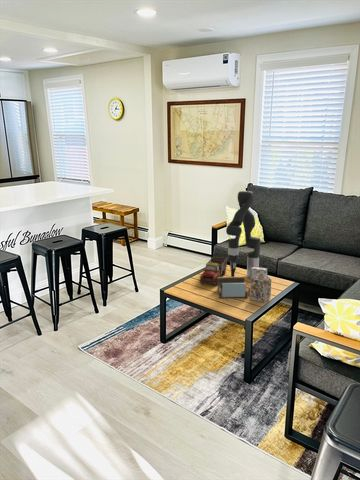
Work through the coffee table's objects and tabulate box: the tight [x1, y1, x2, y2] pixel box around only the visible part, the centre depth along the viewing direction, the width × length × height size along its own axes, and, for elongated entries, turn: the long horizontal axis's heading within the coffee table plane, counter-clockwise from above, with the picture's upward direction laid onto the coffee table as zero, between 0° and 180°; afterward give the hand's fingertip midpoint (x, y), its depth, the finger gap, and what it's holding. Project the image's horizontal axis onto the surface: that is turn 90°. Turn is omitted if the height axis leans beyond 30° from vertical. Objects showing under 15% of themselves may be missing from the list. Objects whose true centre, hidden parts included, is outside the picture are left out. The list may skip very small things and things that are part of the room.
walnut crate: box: [216, 276, 249, 300], centre depth 271 cm, size 16×20×10 cm
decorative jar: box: [249, 274, 272, 303], centre depth 262 cm, size 12×12×18 cm
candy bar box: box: [250, 266, 268, 281], centre depth 279 cm, size 11×5×16 cm, turn 62°
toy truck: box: [199, 256, 228, 287], centre depth 300 cm, size 14×35×15 cm, turn 156°
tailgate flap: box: [222, 282, 247, 297], centre depth 262 cm, size 1×16×10 cm, turn 90°
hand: (232, 276), depth 267 cm, fingers closed
